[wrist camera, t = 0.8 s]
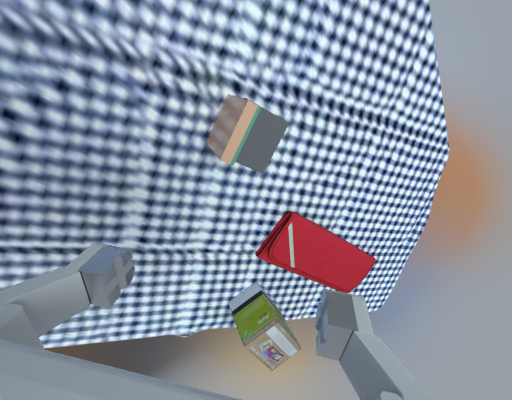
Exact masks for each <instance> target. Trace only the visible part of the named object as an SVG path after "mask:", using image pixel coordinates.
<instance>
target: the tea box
mask: <svg viewBox="0 0 512 400" xmlns="http://www.w3.org/2000/svg"><path fill="white" fill-rule="evenodd" d="M229 306H230V309H231V312H232V314H233V317H234V320H235V323H236V325H237V328H238V331H239V334H240V336H241V340H242V342H243V344H244V347H245V348H246V349H247V350H248V351H249V352H251V353H252V354H253V355H254V356H255V357H256V358H258V359H259V360H260V361H261V362H262V363H263V364H265V365H266V366H267V367H268V368H269V369H270V370H272V371H273V370H274V369H275V368H277V367H278V366H279V365H280V364H282V363H283V362H284V361H285V360H287V359H288V358H289V357H291V356H292V355H293V354H295V353H296V352H297V351H299V350H300V349H301V347H300V345H299V343H298V341H297V339H296V338H295V336H294V334H293V333H292V331H291V330H290V327H289V326H288V324H287V322H286V320H285V319H284V317H283V315H282V313H281V312H280V310H279V308H278V307H277V306H276V304H275V303H274V302H273V301H272V299H271V298H270V297H269V296H268V295H267V293H266V292H265V291H264V290H263V289H262V287H261V286H260V285H259V284H258V283H257V282H255V283H254V284H253V285H251V286H250V287H248V288H247V289H246V290H244V291H243V292H242V293H240V294H239V295H237V296H236V297H235V298H233V299H232V300H231V301H229Z"/></svg>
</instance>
